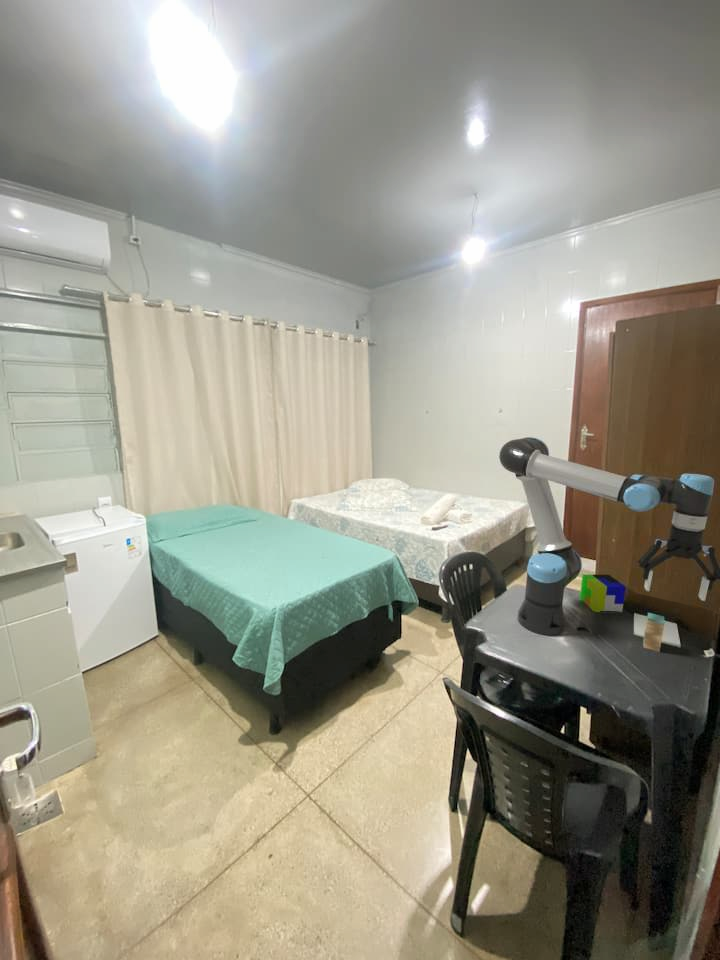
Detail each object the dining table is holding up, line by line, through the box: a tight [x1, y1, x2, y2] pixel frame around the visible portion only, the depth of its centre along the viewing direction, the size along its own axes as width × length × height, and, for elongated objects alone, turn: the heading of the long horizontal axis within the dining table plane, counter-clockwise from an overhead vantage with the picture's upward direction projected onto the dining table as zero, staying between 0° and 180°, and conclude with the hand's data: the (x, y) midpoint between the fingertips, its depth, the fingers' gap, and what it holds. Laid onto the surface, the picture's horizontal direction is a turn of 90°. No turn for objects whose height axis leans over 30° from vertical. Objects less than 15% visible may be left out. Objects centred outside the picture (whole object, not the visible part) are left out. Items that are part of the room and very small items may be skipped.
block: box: [642, 612, 666, 653], centre depth 122 cm, size 4×4×10 cm
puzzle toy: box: [579, 573, 627, 613], centre depth 147 cm, size 10×10×10 cm
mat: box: [633, 612, 682, 648], centre depth 132 cm, size 12×15×1 cm
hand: (673, 593), depth 119 cm, fingers open, 13 cm apart
